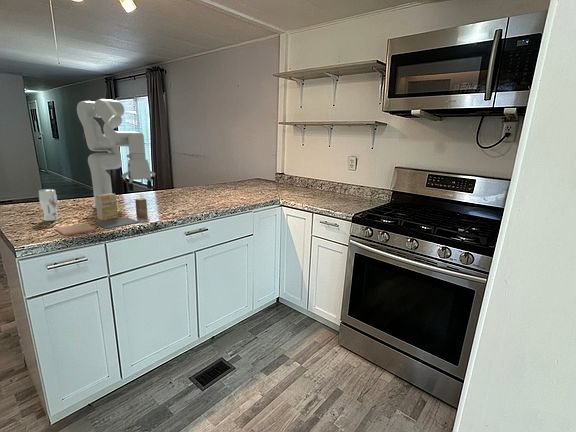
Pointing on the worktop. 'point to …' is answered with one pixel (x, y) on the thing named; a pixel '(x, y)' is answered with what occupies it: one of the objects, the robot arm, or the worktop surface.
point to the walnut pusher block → (141, 208)
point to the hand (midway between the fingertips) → (140, 189)
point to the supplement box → (106, 206)
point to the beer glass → (49, 204)
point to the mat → (116, 222)
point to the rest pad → (75, 229)
